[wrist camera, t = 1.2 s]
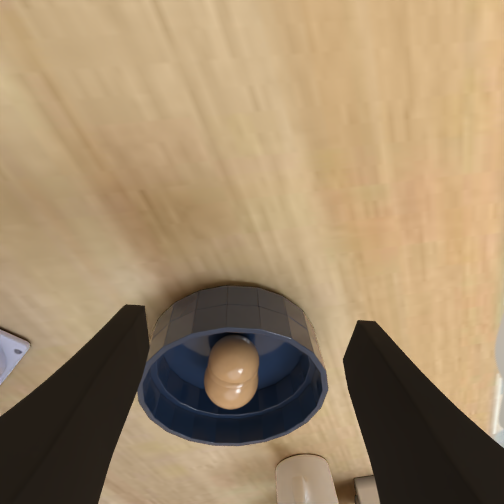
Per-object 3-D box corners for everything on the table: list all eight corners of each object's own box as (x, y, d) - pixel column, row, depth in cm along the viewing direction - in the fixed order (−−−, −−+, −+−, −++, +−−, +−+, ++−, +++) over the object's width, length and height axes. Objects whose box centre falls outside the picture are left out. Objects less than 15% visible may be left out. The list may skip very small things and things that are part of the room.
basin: (240, 410, 30) (241, 462, 26) (121, 352, 25) (100, 405, 21) (345, 338, 25) (365, 387, 21) (224, 248, 20) (221, 292, 16)
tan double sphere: (254, 375, 26) (254, 424, 23) (206, 370, 26) (198, 418, 22) (265, 326, 23) (266, 373, 20) (210, 320, 23) (202, 366, 19)
